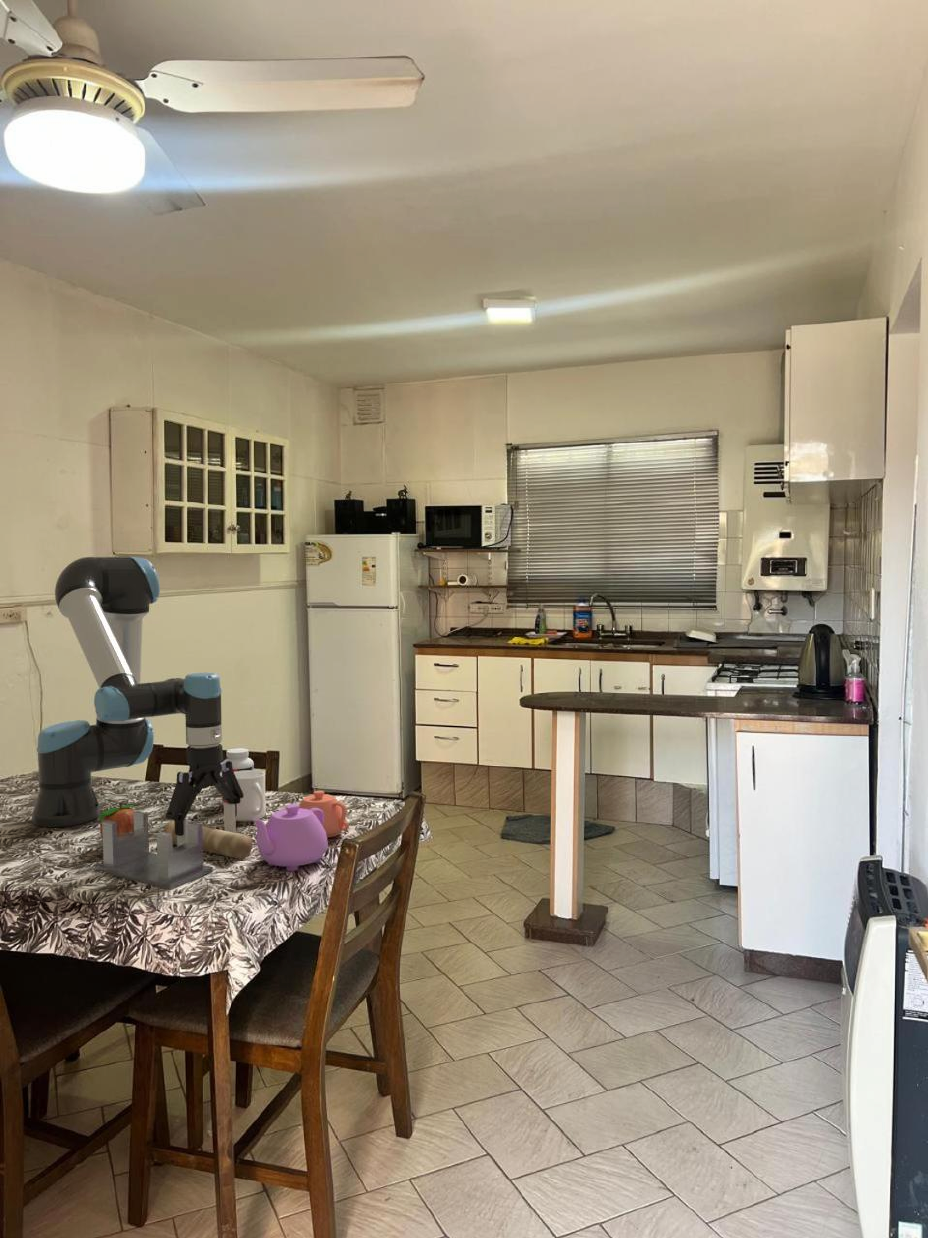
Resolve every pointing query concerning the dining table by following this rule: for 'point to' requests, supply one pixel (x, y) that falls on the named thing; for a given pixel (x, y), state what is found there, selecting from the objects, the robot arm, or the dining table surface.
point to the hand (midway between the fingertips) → (207, 841)
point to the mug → (251, 795)
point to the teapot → (292, 837)
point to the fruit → (119, 819)
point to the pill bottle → (238, 762)
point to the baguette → (219, 841)
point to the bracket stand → (152, 855)
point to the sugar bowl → (328, 811)
